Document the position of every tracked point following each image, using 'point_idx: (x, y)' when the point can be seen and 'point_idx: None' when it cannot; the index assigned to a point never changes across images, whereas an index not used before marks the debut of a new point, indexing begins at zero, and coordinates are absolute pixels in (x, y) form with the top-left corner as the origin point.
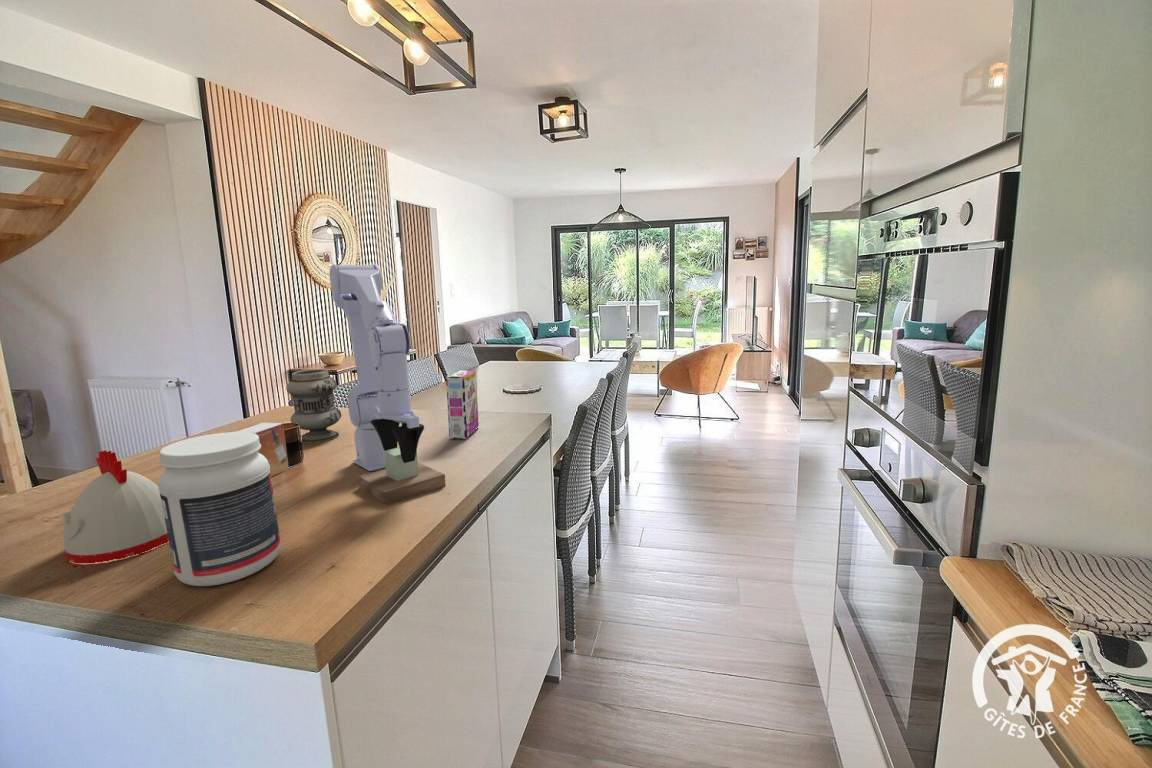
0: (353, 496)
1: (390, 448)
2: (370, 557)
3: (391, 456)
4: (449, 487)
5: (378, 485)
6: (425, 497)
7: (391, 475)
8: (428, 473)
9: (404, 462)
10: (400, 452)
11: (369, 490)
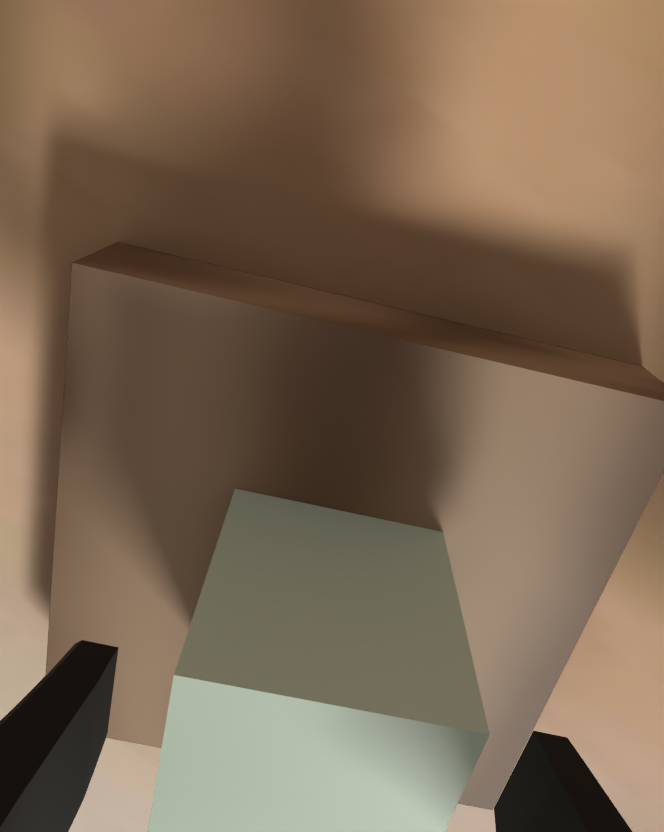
0: (539, 212)
1: (532, 821)
2: None
3: (282, 670)
4: (37, 650)
5: (291, 340)
6: (8, 475)
7: (336, 524)
8: (164, 693)
9: (86, 644)
10: (58, 738)
11: (449, 328)
